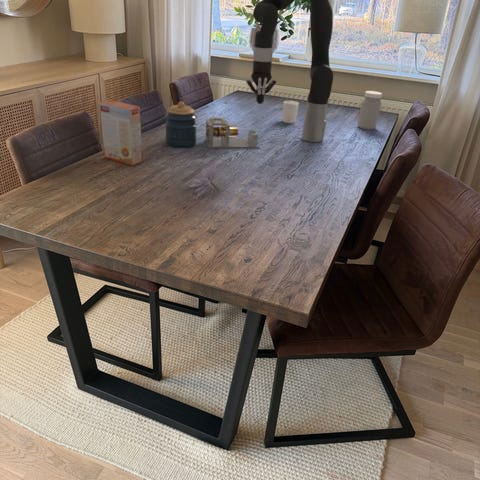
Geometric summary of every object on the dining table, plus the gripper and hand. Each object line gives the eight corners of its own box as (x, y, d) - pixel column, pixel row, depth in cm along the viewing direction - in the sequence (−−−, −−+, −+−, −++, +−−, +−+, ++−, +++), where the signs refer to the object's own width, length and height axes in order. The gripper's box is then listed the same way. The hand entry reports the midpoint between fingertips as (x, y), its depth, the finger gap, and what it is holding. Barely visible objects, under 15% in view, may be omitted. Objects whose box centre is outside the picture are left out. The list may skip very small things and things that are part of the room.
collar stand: (252, 140, 200) (254, 117, 195) (258, 148, 191) (261, 124, 186) (204, 140, 194) (205, 117, 189) (208, 148, 185) (209, 124, 180)
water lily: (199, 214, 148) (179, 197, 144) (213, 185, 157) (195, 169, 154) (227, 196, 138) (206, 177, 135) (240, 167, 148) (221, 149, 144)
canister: (190, 150, 182) (191, 107, 173) (161, 146, 184) (160, 103, 175) (199, 141, 193) (200, 100, 184) (171, 137, 195) (171, 96, 186)
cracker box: (143, 162, 166) (140, 106, 156) (132, 166, 162) (128, 109, 151) (115, 153, 172) (111, 99, 161) (104, 157, 167) (99, 101, 157)
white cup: (296, 124, 228) (299, 104, 223) (281, 123, 228) (284, 103, 223) (295, 120, 235) (298, 101, 230) (280, 119, 235) (283, 99, 230)
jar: (373, 125, 237) (381, 91, 228) (377, 131, 228) (385, 95, 219) (355, 124, 237) (362, 89, 228) (358, 129, 229) (365, 93, 220)
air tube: (235, 135, 193) (236, 125, 191) (237, 138, 190) (238, 128, 188) (206, 135, 190) (206, 125, 188) (207, 138, 187) (208, 128, 184)
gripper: (275, 58, 182) (271, 101, 190) (244, 57, 179) (242, 101, 187) (281, 61, 176) (277, 105, 184) (249, 60, 172) (246, 105, 181)
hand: (259, 103), depth 186 cm, fingers closed
